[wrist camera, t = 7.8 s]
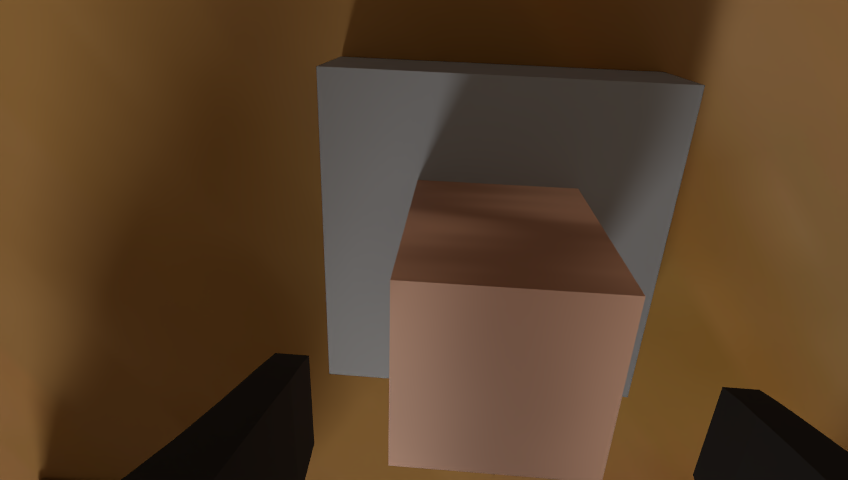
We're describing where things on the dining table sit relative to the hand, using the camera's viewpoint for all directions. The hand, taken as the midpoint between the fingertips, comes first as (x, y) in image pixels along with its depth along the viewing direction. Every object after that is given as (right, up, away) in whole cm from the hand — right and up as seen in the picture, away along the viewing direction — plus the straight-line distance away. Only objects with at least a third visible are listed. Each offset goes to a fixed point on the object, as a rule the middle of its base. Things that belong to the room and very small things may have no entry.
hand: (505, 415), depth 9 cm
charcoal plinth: (+1, +4, +9) cm, 10 cm away
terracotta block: (0, +3, +6) cm, 7 cm away
